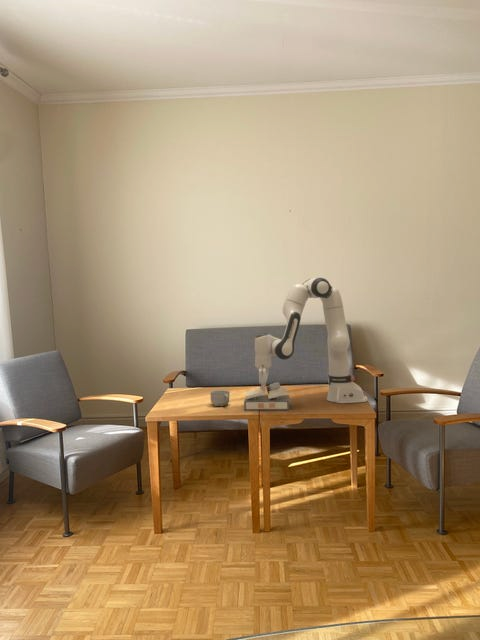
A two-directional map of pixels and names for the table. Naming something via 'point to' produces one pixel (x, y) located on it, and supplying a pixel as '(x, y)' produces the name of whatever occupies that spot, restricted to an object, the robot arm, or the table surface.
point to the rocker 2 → (277, 392)
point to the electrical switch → (273, 387)
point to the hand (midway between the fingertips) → (263, 388)
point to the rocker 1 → (254, 393)
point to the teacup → (219, 397)
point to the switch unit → (267, 403)
